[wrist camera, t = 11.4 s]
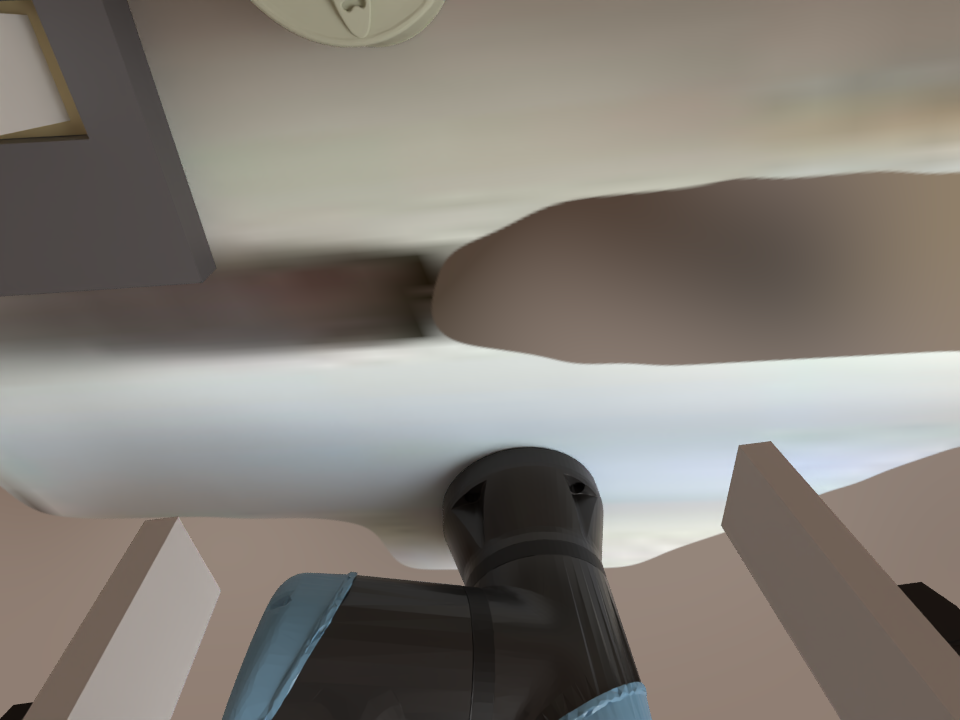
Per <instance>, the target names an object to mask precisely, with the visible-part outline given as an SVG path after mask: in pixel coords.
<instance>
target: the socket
mask: <svg viewBox="0 0 960 720" xmlns="http://www.w3.org/2000/svg"><path fill="white" fill-rule="evenodd" d="M0 13H5V14H20V15H28V17H29V20H30V22H31V25H32V27H33V30H34V32H35V35H36V37H37V39H38V42H39V44H40V47H41V49H42V52H43V54H44V57H45V59H46V62H47V64H48V66H49V69H50V71H51V74H52V76H53V79H54V81H55V84H56V86H57V88H58V91H59V93H60V96H61V98H62V101H63V103H64V106H65V108H66V110H67V113H68V115H69V118H70V121H65V122H61V123H56V124H51V125H47V126H42V127H37V128H32V129H28V130H23V131H18V132H14V133H9V134H4V135H0V296H15V295H30V294H44V293H59V292H74V291H89V290H104V289H118V288H133V287H148V286H163V285H178V284H192V283H203V282H204V281H205V279H206V278H207V277H208V276H209V275H210V274H211V273H212V272H213V271H214V270H215V269H216V266H215V263H214V260H213V257H212V254H211V251H210V248H209V245H208V242H207V239H206V236H205V233H204V230H203V227H202V224H201V221H200V218H199V215H198V212H197V209H196V206H195V203H194V200H193V197H192V194H191V191H190V188H189V185H188V182H187V179H186V176H185V173H184V170H183V167H182V164H181V161H180V158H179V155H178V152H177V149H176V146H175V143H174V140H173V137H172V134H171V131H170V128H169V125H168V122H167V119H166V116H165V113H164V110H163V107H162V104H161V101H160V98H159V95H158V92H157V89H156V86H155V83H154V80H153V78H152V75H151V72H150V69H149V66H148V63H147V60H146V57H145V54H144V51H143V48H142V45H141V42H140V39H139V36H138V33H137V30H136V27H135V24H134V21H133V18H132V15H131V12H130V9H129V6H128V3H127V0H0Z"/></svg>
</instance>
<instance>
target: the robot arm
mask: <svg viewBox="0 0 960 720" xmlns="http://www.w3.org/2000/svg"><path fill="white" fill-rule="evenodd" d="M721 526H722V528H723V529H724V531H725V532H726V534H727V536H728V537H729V539H730V540H731V542H732V544H733V545H734V547H735V549H736V550H737V552H738V554H739V555H740V557H741V558H742V560H743V562H744V563H745V565H746V567H747V568H748V570H749V571H750V573H751V575H752V576H753V578H754V579H755V581H756V583H757V584H758V586H759V588H760V589H761V591H762V592H763V594H764V596H765V597H766V599H767V601H768V602H769V604H770V606H771V607H772V609H773V610H774V612H775V614H776V615H777V617H778V619H779V620H780V622H781V623H782V625H783V627H784V628H785V630H786V632H787V633H788V634H789V636H790V638H791V640H792V641H793V643H794V645H795V646H796V648H797V649H798V651H799V653H800V654H801V656H802V657H803V659H804V661H805V662H806V664H807V666H808V667H809V669H810V670H811V672H812V674H813V675H814V677H815V679H816V680H817V682H818V684H819V685H820V687H821V688H822V690H823V692H824V693H825V695H826V697H827V698H828V700H829V701H830V703H831V705H832V706H833V708H834V709H835V711H836V713H837V714H838V716H839V718H840V719H841V720H960V609H959V608H958V607H957V606H956V605H954V604H953V603H951V602H950V601H948V600H947V599H945V598H944V597H943V596H941V595H940V594H938V593H937V592H935V591H934V590H932V589H931V588H929V587H928V586H926V585H925V584H923V583H922V582H918V583H910V584H903V585H897V584H896V583H895V582H894V581H893V580H892V579H891V578H890V576H889V575H888V574H887V573H886V572H885V571H884V570H883V569H882V567H881V566H880V565H879V564H878V563H877V562H876V561H875V559H874V558H873V557H872V556H871V555H870V554H869V553H868V551H867V550H866V549H865V548H864V547H863V546H862V545H861V543H860V542H859V541H858V540H857V539H856V538H855V537H854V535H853V534H852V533H851V532H850V531H849V530H848V529H847V528H846V526H845V525H844V524H843V523H842V522H841V521H840V520H839V518H838V517H837V516H836V515H835V514H834V513H833V512H832V511H831V509H830V508H829V507H828V506H827V505H826V504H825V502H824V501H823V500H822V499H821V498H820V497H819V496H818V494H817V493H816V492H815V491H814V490H813V489H812V488H811V487H810V485H809V484H808V483H807V482H806V481H805V480H804V479H803V477H802V476H801V475H800V474H799V473H798V472H797V471H796V469H795V468H794V467H793V466H792V465H791V464H790V463H789V461H788V460H787V459H786V458H785V457H784V456H783V455H782V453H781V452H780V451H779V450H778V449H777V448H776V447H775V446H774V444H773V443H772V442H771V441H769V442H761V443H753V444H745V445H739V447H738V452H737V456H736V461H735V465H734V470H733V474H732V479H731V483H730V488H729V492H728V497H727V501H726V506H725V510H724V515H723V519H722V524H721ZM443 531H444V536H445V540H446V542H447V545H448V547H449V549H450V552H451V554H452V556H453V559H454V561H455V563H456V566H457V568H458V570H459V573H460V575H461V577H462V580H463V582H464V584H465V586H460V585H450V584H441V583H430V582H421V581H420V582H419V581H411V580H400V579H390V578H380V577H370V576H360V575H357V573H356V572H350V573H349V574H347V575H346V574H323V573H302V574H297V575H295V576H293V577H291V578H289V579H288V580H286V581H285V582H284V583H283V584H282V585H281V586H280V587H279V588H278V589H277V591H276V592H275V594H274V595H273V597H272V598H271V600H270V602H269V604H268V606H267V608H266V610H265V612H264V614H263V616H262V618H261V620H260V623H259V625H258V627H257V629H256V632H255V634H254V636H253V639H252V641H251V643H250V646H249V648H248V651H247V653H246V656H245V658H244V661H243V663H242V666H241V669H240V671H239V673H238V676H237V679H236V681H235V684H234V687H233V690H232V692H231V695H230V698H229V700H228V703H227V706H226V709H225V712H224V715H223V718H222V720H652V719H651V714H650V710H649V706H648V702H647V698H646V696H647V693H646V688H645V686H644V685H643V684H642V683H641V680H640V678H639V675H638V671H637V668H636V665H635V662H634V659H633V656H632V653H631V650H630V647H629V644H628V641H627V638H626V635H625V632H624V629H623V626H622V623H621V620H620V617H619V614H618V611H617V608H616V605H615V602H614V599H613V596H612V593H611V590H610V587H609V583H608V581H607V578H606V575H605V572H604V568H603V565H602V538H603V505H602V500H601V497H600V494H599V491H598V489H597V486H596V483H595V481H594V479H593V477H592V475H591V474H590V472H589V471H588V470H587V469H586V468H585V467H584V466H583V465H582V464H581V463H579V462H578V461H577V460H575V459H573V458H572V457H570V456H568V455H565V454H563V453H560V452H557V451H553V450H548V449H541V448H519V449H512V450H506V451H502V452H498V453H495V454H492V455H490V456H487V457H485V458H483V459H481V460H479V461H477V462H475V463H473V464H472V465H470V466H469V467H468V468H466V469H465V470H464V471H463V472H461V473H460V474H459V475H458V476H457V477H456V479H455V480H454V481H453V482H452V484H451V485H450V487H449V488H448V490H447V492H446V495H445V497H444V501H443ZM220 592H221V590H220V588H219V586H218V584H217V583H216V581H215V579H214V577H213V576H212V574H211V572H210V571H209V569H208V567H207V565H206V564H205V562H204V560H203V559H202V557H201V555H200V553H199V552H198V550H197V548H196V546H195V544H194V543H193V541H192V539H191V537H190V536H189V534H188V532H187V530H186V529H185V527H184V525H183V523H182V522H181V520H180V518H179V517H171V518H163V519H155V520H147V521H145V522H144V523H143V525H142V527H141V528H140V530H139V531H138V533H137V535H136V536H135V538H134V540H133V541H132V543H131V544H130V546H129V548H128V549H127V551H126V553H125V554H124V556H123V558H122V559H121V561H120V562H119V564H118V565H117V567H116V569H115V571H114V572H113V574H112V575H111V577H110V578H109V580H108V582H107V583H106V585H105V587H104V588H103V590H102V591H101V593H100V595H99V597H98V598H97V600H96V601H95V603H94V605H93V606H92V608H91V609H90V611H89V613H88V614H87V616H86V618H85V619H84V621H83V623H82V624H81V626H80V627H79V629H78V630H77V632H76V634H75V635H74V637H73V639H72V640H71V642H70V643H69V645H68V647H67V649H66V650H65V652H64V653H63V655H62V657H61V658H60V660H59V661H58V663H57V665H56V666H55V668H54V670H53V671H52V673H51V674H50V676H49V678H48V679H47V681H46V683H45V684H44V686H43V687H42V689H41V690H40V692H39V694H38V695H37V697H36V699H35V700H34V702H32V703H25V704H17V705H13V706H12V707H11V708H10V709H9V710H8V711H7V712H6V713H5V714H4V715H3V717H1V719H0V720H170V719H171V716H172V714H173V712H174V709H175V706H176V704H177V701H178V699H179V696H180V694H181V691H182V689H183V686H184V684H185V681H186V678H187V676H188V673H189V671H190V668H191V666H192V663H193V661H194V658H195V656H196V653H197V651H198V648H199V645H200V643H201V640H202V638H203V635H204V633H205V630H206V628H207V625H208V622H209V620H210V618H211V615H212V612H213V610H214V607H215V605H216V602H217V600H218V597H219V595H220Z"/></svg>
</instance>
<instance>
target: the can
mask: <svg viewBox="0 0 960 720" xmlns="http://www.w3.org/2000/svg"><path fill="white" fill-rule="evenodd" d="M250 1H251V2H252V3H253V4H254V5H255V6H256V7H257V8H258V9H259V10H261V11H262V12H263V13H264V14H266V15H267V16H268V17H269V18H271V19H272V20H273V21H274V22H276V23H277V24H279V25H280V26H282V27H284V28H285V29H287V30H289V31H291V32H293V33H294V34H296V35H298V36H301V37H303V38H306V39H308V40H311V41H314V42H317V43H320V44H324V45H329V46H336V47H362V46H368V47H386V46H392V45H396V44H399V43H402V42H404V41H407V40H409V39H411V38H412V37H414V36H416V35H417V34H418V33H420V32H421V31H422V30H423V29H425V28H426V27H427V26H428V25H429V24H430V22H431V21H432V20H433V19H434V18H435V16H436V15H437V14H438V12H439V11H440V9H441V7H442V6H443V4H444V2H445V0H250Z"/></svg>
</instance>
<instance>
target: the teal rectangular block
mask: <svg viewBox="0 0 960 720" xmlns="http://www.w3.org/2000/svg"><path fill="white" fill-rule="evenodd" d="M65 121H70V118H69V115H68V113H67V110H66V108H65V106H64V103H63V101H62V98H61V96H60V93H59V91H58V88H57V86H56V84H55V81H54V79H53V76H52V74H51V71H50V69H49V66H48V64H47V62H46V59H45V57H44V54H43V52H42V49H41V47H40V44H39V42H38V39H37V37H36V35H35V32H34V30H33V27H32V25H31V22H30V20H29V17H28V15H20V14H5V13H0V135H4V134H9V133H14V132H18V131H23V130H28V129H32V128H37V127H42V126H47V125H51V124H56V123H61V122H65Z"/></svg>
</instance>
